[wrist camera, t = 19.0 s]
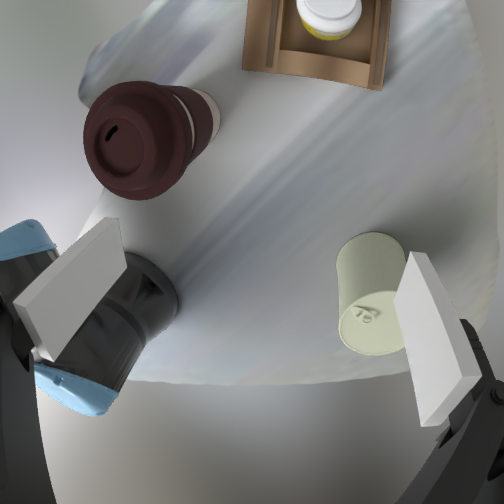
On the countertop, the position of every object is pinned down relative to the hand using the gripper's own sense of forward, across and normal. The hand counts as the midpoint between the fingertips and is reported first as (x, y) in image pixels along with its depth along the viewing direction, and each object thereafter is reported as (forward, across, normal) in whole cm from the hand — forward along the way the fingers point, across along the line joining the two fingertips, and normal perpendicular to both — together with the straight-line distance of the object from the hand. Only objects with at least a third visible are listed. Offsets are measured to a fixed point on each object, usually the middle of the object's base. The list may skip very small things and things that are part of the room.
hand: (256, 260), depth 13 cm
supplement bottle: (+22, +3, +15) cm, 27 cm away
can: (+23, +12, -13) cm, 29 cm away
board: (+23, +3, +19) cm, 30 cm away
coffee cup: (+24, -11, +3) cm, 26 cm away
